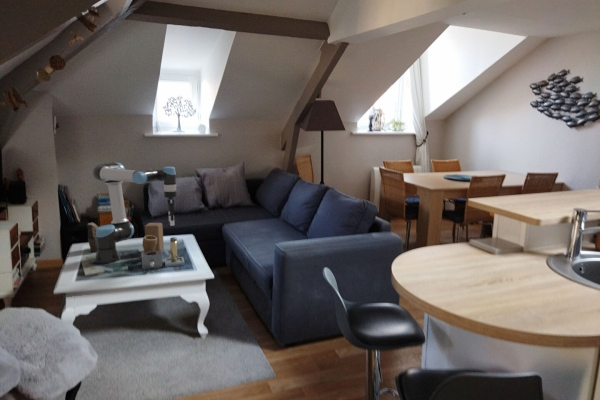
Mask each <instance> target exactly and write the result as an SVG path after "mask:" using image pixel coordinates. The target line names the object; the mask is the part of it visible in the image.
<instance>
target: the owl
mask: <svg viewBox="0 0 600 400" xmlns="http://www.w3.org/2000/svg"><path fill="white" fill-rule="evenodd" d="M98 227H99V226H98V225H97V224H96V223H95V222H92V221H91V222H88V223H87V224H86V229H87V242H88V244H89V250H90V249H91V252H90V253H97V241H96V229H97V228H98Z"/></svg>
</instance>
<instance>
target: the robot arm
mask: <svg viewBox="0 0 600 400" xmlns="http://www.w3.org/2000/svg"><path fill="white" fill-rule="evenodd" d="M92 176H93V178H94V179H95V180H96V181H97V182H98V181H99V182H104V183H105V185H107V187H108V195H109V202H110V209H111V215H112V216H111V217H112V221H111V222H110V224H104V225H100V226H98V228H97V229H96V241H97V252H96V254H95V257H94V262H95V263H96V264H103V265H104V264H111V263H115V261H116V262H118V261H120V254H119V252H118V249H117V245H116V244H117V243H119V242H122V241H127V240H129V239H131V238H132V236H133V235H134V233H135V228H134V225H133V224H132V223H131V222H130V221H129V220H130V219H128V218H127V215H126V214H127V213H126V208H125V200H124V195H123V194H124V193H123V188H122V187H123V186H122V184H123V182H126V183H127V182H129V183H135V184H137V185H139V184H140V185H144V184H146V183H153V182H163V191H164V192H163V196H164V198H167V205H168V206H167V207H168V208H167V210H168V211H167V212H168V222H169V225H170V227H171V226H172V227H173V226H176V225H175V200H174V199H173V198H176V197H177V187H178V185H177V183H176V182H177V180H176V179H177V177H176V176H177V172H176V168H175V167H174V166H164V167H162V169H160V168H159V169H157V168H150V169H148V170H133V169H126V168H125V166H124V165H123V164H122V163H120V162H103V163H99V164H97V165H95V166H94V167H93V169H92Z"/></svg>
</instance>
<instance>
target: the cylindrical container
mask: <svg viewBox="0 0 600 400" xmlns="http://www.w3.org/2000/svg"><path fill="white" fill-rule="evenodd" d="M177 239H178V238H177V237H175V236H174V237H170V238H169V241H170V258H171V262H172V263H173V262H177V257H178V245H177V244H178V243H177V241H178V240H177Z"/></svg>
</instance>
